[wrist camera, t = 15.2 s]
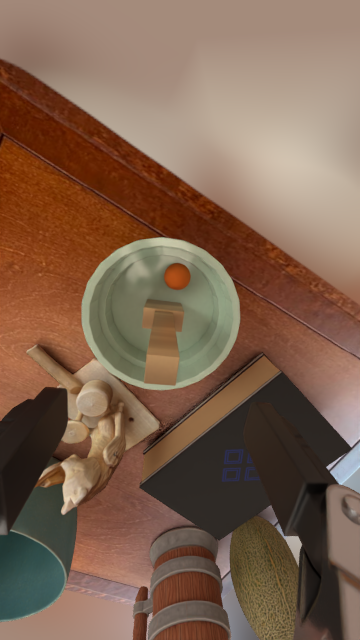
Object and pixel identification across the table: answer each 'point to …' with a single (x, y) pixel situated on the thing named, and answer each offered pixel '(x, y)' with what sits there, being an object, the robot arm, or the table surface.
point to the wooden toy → (93, 427)
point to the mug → (182, 590)
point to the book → (229, 450)
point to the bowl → (148, 283)
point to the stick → (162, 341)
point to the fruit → (264, 578)
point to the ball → (177, 276)
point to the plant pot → (36, 554)
